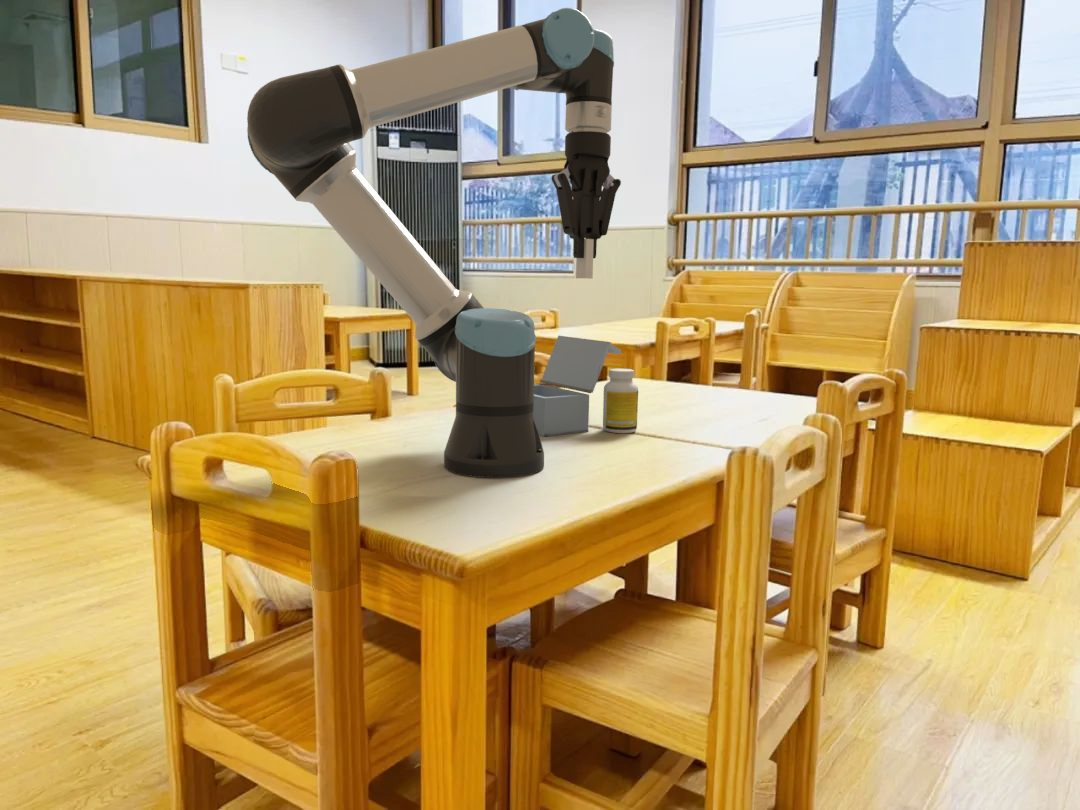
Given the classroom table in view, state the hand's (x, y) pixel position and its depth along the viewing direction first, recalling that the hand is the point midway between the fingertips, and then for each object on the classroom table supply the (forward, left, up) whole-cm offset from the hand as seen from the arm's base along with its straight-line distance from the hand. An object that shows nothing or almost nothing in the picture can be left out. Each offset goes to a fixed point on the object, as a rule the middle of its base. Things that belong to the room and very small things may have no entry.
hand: (584, 278), depth 137 cm
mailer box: (+3, +16, -28) cm, 32 cm away
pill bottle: (+13, +5, -29) cm, 32 cm away
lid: (+9, +16, -16) cm, 24 cm away
